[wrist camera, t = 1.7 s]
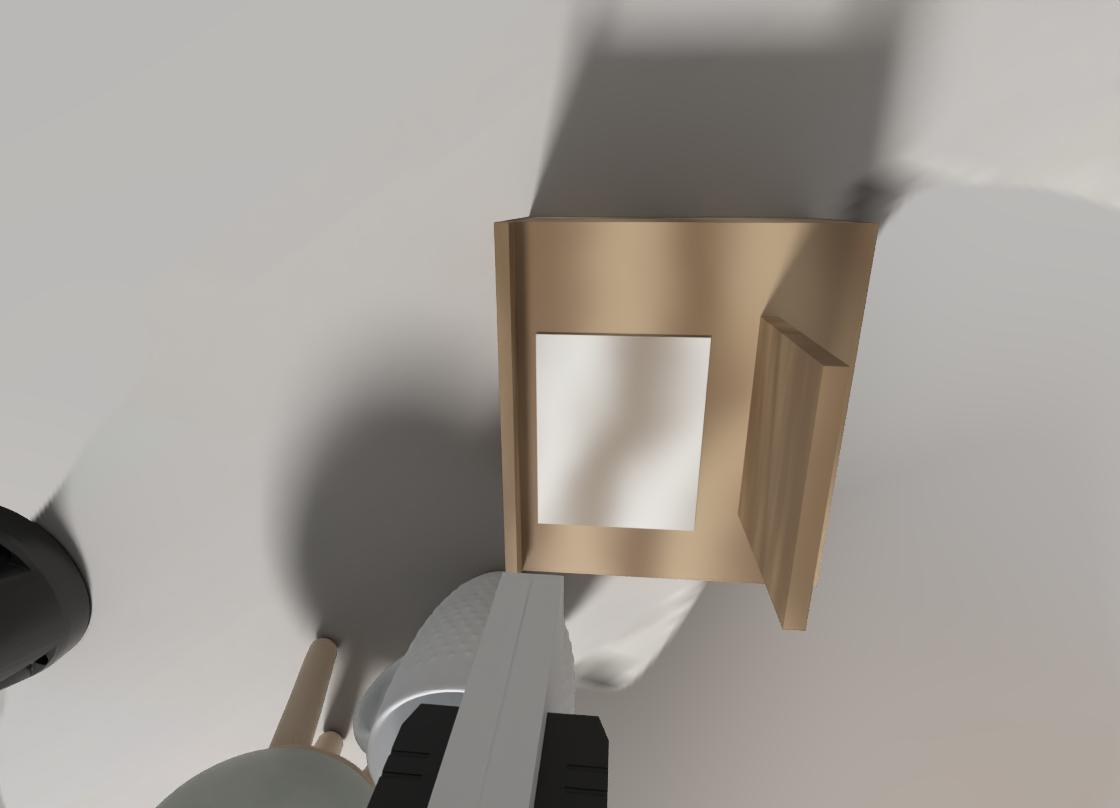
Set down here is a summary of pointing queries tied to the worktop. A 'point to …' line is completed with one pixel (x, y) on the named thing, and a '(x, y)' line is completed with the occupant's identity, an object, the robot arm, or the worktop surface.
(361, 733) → the mug
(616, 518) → the lid
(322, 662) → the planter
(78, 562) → the worktop surface
